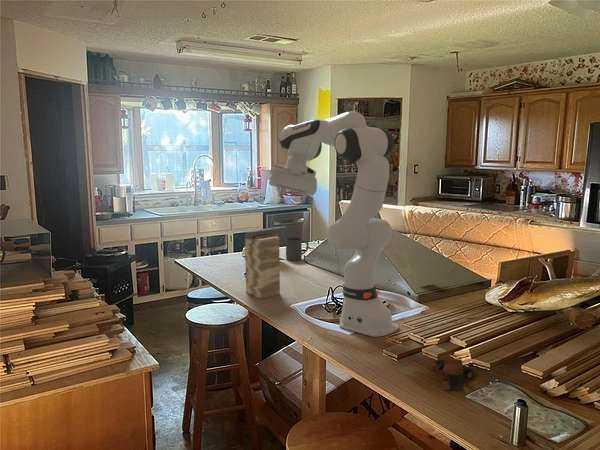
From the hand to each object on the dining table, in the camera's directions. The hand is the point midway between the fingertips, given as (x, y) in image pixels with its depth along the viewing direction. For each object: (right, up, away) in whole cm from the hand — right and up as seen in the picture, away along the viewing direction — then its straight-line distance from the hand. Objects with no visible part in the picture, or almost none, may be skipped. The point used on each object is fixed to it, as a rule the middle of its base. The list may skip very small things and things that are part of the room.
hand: (291, 198), depth 200 cm
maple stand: (-13, -42, +16) cm, 47 cm away
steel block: (-11, -16, +14) cm, 24 cm away
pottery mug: (+47, -55, -65) cm, 98 cm away
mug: (+2, -31, +82) cm, 87 cm away
